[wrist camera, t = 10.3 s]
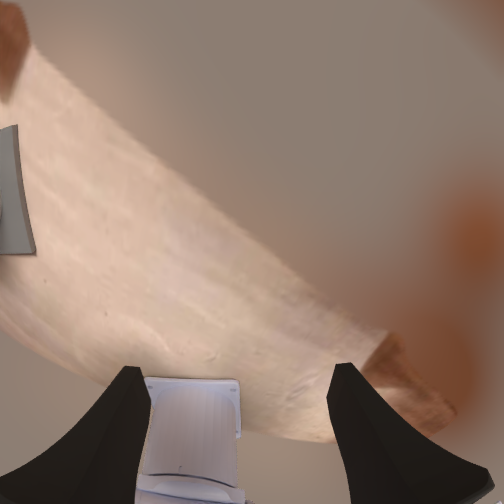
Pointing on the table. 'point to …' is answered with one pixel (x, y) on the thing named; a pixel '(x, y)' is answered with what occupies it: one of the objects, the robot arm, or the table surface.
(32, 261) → the table surface
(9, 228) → the coaster
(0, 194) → the cup
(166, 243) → the table surface
